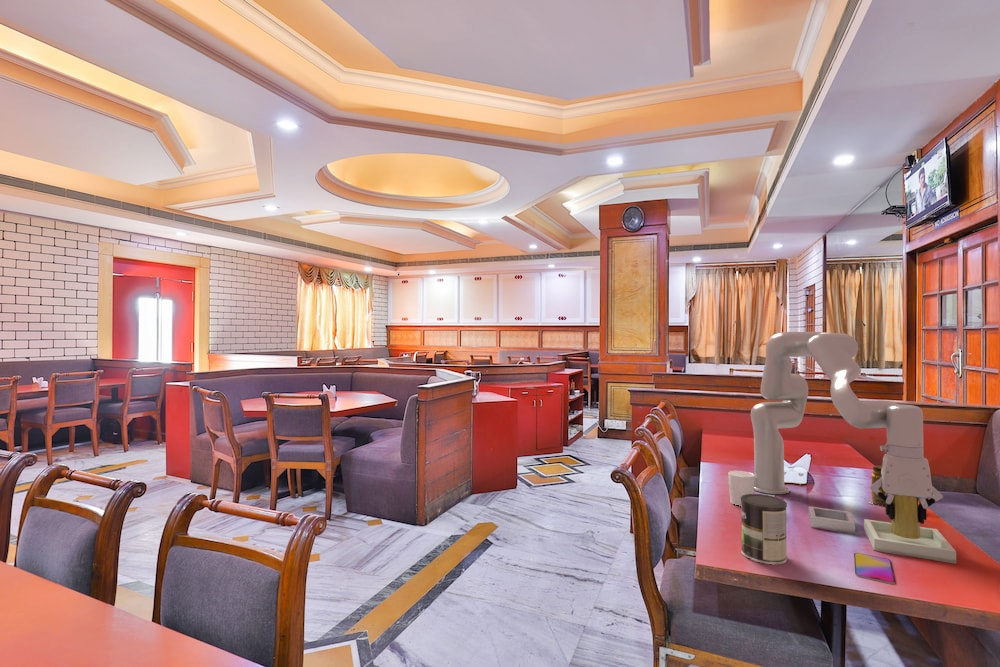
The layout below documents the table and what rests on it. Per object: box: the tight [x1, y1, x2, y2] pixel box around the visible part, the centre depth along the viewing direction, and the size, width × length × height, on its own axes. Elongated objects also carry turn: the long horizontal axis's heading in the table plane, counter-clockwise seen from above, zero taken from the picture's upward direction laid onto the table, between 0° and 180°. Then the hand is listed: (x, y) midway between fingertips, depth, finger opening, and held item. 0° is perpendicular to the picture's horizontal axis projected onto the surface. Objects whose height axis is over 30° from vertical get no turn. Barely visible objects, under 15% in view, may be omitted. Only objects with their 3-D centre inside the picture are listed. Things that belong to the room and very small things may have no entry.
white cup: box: [727, 470, 755, 507], centre depth 164 cm, size 8×8×10 cm
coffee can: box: [740, 493, 788, 566], centre depth 125 cm, size 10×10×14 cm
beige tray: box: [863, 518, 957, 565], centre depth 131 cm, size 16×16×3 cm
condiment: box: [867, 465, 893, 507], centre depth 163 cm, size 7×8×12 cm
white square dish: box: [808, 506, 856, 535], centre depth 145 cm, size 10×10×3 cm
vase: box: [891, 495, 921, 539], centre depth 131 cm, size 6×6×14 cm
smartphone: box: [853, 552, 896, 585], centre depth 118 cm, size 7×1×15 cm
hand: (905, 519), depth 131 cm, fingers closed on vase, 5 cm apart
